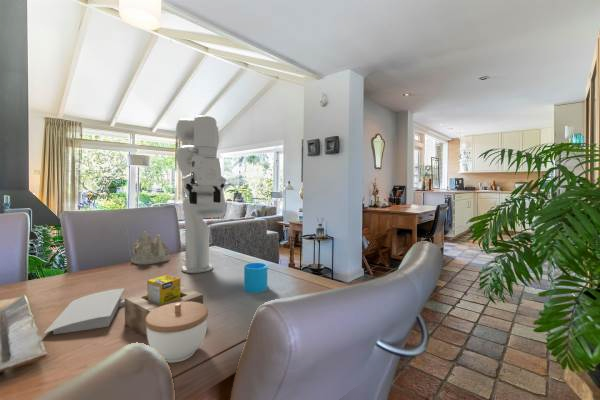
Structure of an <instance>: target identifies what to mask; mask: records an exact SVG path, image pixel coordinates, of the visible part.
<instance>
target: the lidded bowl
mask: <svg viewBox="0 0 600 400" xmlns="http://www.w3.org/2000/svg"><path fill="white" fill-rule="evenodd" d="M208 315H209V309H208V307H207V306H206V305H205V304H204V303H203V304H201V303H198V302H188V301H187V302H176V303H170V304H167V305H163V306H161V307H158V308H156V309H154V310H152V311H151V312H150V313H149V314H148V315H147V316H146V319H145V323H146V332H147V337H146V339H147V342H148V346H149V347H150V346H151V347H153V348H155V349H156V350H157V351H159V353H160V354H161V355H162V356H163V357H164V358H165V360H166V361H167V362H166V363H170V364H171V363H173V364H174V363H179V362H183V361H186V360H188V359H189V358H191V357H192V356H194V354H195V353H196V351H197V350H198V349H199V348H200V347H201V345H202V344H203V342H204V340H205V337H206V335H207V334H206V333H207V329H208V328H207V327H208Z"/></svg>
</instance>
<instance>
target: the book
mask: <svg viewBox="0 0 600 400" xmlns="http://www.w3.org/2000/svg"><path fill="white" fill-rule="evenodd" d="M124 290H125V287H124V288H115V289H110V290H104V291H100V292H95V293H91V294H88V295H84V296H81V297H79V298H76V299H74V300H71V302H70V303H69V304H68V305H67V306H66V308H65V309H64V310H63V311H62V312H61V313H60V314H59V315H58V317H56V319H55V320H54V321H53V322H52V323H51V324H50V325H49V327H48V328H47V329H46V330H45V331H44V332H43V335H46V334H48V333H50V332H53V333H52V334H53V335H60V334H66V333H73V332H81V331H87V330H93V329H99V328H107V327H108V328H109V326H110V325H111V322H112V321H113V318H114V316H115V315H116V312H117V311H118V308H121V307H125V298H122V294H123V292H124Z"/></svg>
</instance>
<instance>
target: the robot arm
mask: <svg viewBox="0 0 600 400" xmlns="http://www.w3.org/2000/svg"><path fill="white" fill-rule="evenodd" d="M217 123H218V122H217V120H216V118H215V117H212V116H211V115H210V116H209V115H197V116H195V117H194V118H180V119H179V120H178V121H177V123H176V126H175V133H176V134H175V135H176V138H177V140H178V141H179V142H183V143H187V145H182V146H179V147H178V148H177V150H176V162H177V166H178V168H179V170H180V172H181V175H182V178H181V181H182V183H183V186H184V192H185V195H186V197H184V200H183V201H182V209H183V215H184V217H183V218H184V227H185V228H184V229H185V230H184V232H185V233H184V234H185V257H184V258H183V259H182V262H184V265H183V266H181V271H182V272H184V273H187V274H199V273H200V274H201V273H205V272H208V271H211V270H213V267H214V265H213V264H212V263H211V262H210V229H209V225H208V224H207V223H206V221H204V220H203V219H206V218H207V219H208V218H220V217H223V216H225V214H226V212H227V204H226V200H225V194H224V190H223V189H224V188H225V186H226V183H227V182H226V181H227V179H226V178H225V177H223V176H222V170H221V163H220V159H219V157H218V156H217V153H218V149H219V143H220V140H219V139H220V136H219V127H218V126H217V125H218V124H217Z"/></svg>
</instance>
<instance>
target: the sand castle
mask: <svg viewBox="0 0 600 400" xmlns="http://www.w3.org/2000/svg"><path fill="white" fill-rule="evenodd" d="M152 239H153V238H152V234H151V235H149V234H148V233H147V231H145V230H144V231H143V233H142V236H139V238H138V239H136V241H135V242H133V243H132V248H131V250H132V253H133V255H132V257H131V258H130V259H131V261H130V262H131V263H132V264H135V265H151V264H157V263H164V262H168V261H170V260H171V257H170V254H169V250H168V249H169V247H168V246H167V245H166V244H165V243H164V242H163V239H162V235H161V234H157V235H156V237H155V238H154V240H152Z"/></svg>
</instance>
